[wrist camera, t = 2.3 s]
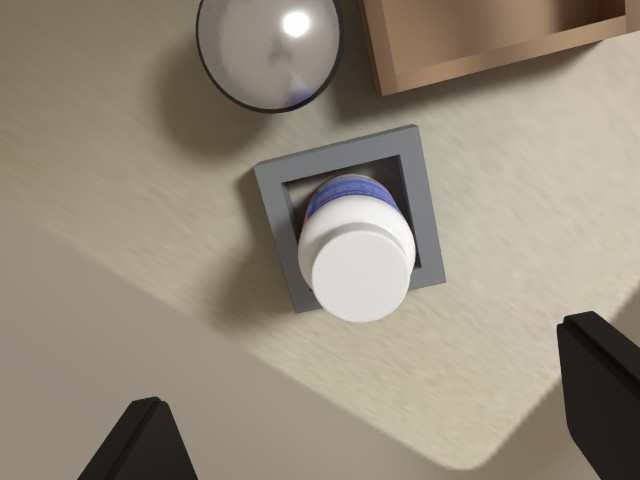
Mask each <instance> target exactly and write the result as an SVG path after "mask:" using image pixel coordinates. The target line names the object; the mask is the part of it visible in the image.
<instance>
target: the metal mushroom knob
mask: <svg viewBox="0 0 640 480" xmlns="http://www.w3.org/2000/svg"><path fill="white" fill-rule="evenodd" d="M196 40H197V47H198V51H199V55H200V58H201V61H202V64H203V66H204V68H205V70H206V72H207V74H208V76H209V77H210V79H211V80H212V82H213V83H214V84H215V86H216V87H217V88H218V89H219V90H220V91H221V92H222V93H223V94H224V95H225V96H226V97H227V98H229V99H230V100H232V101H233V102H234V103H236V104H238V105H240V106H242V107H244V108H246V109H249V110H252V111H256V112H260V113H269V114H273V113H283V112H289V111H293V110H296V109H299V108H301V107H303V106H305V105H307V104H309V103H310V102H312V101H313V100H315V99H316V98H317V97H318V96H319V95H320V94H321V93H322V92H323V91H324V90H325V89H326V88H327V87H328V85H329V84H330V82H331V81H332V79H333V78H334V76H335V74H336V72H337V70H338V67H339V64H340V61H341V57H342V52H343V44H344V26H343V19H342V14H341V10H340V7H339V4H338V2H337V0H201V2H200V5H199V9H198V13H197V20H196Z"/></svg>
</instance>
